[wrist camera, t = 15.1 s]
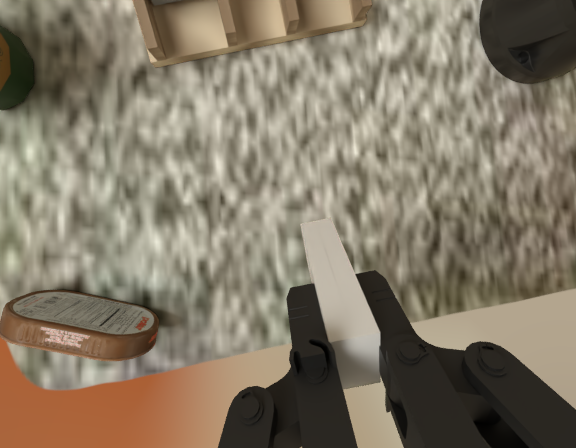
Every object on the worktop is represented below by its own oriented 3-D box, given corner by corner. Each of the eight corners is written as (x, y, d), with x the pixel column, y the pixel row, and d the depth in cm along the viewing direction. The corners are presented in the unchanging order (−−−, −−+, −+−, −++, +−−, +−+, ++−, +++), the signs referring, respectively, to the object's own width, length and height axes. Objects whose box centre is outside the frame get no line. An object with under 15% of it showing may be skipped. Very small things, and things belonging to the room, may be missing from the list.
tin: (37, 302, 34) (-31, 343, 26) (42, 278, 34) (-26, 312, 26) (164, 328, 37) (138, 373, 29) (170, 306, 36) (146, 345, 28)
